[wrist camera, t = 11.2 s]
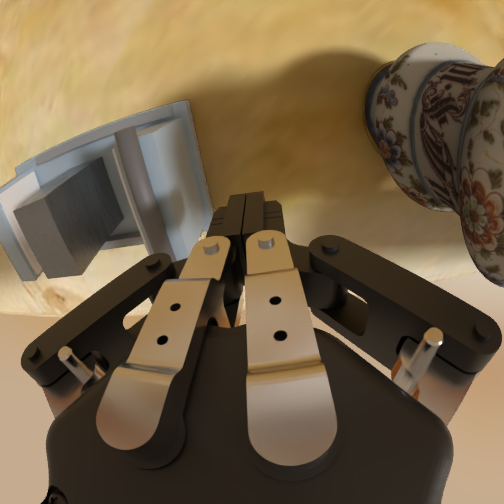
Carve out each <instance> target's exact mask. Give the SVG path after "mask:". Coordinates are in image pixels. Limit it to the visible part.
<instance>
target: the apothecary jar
mask: <svg viewBox="0 0 504 504" xmlns="http://www.w3.org/2000/svg"><path fill="white" fill-rule="evenodd" d="M363 117H364V123H365V127H366V131H367V133H368V136H369V138H370V140H371V142H372V144H373V145H374V147H375V148H376V150H377V151H378V152H379V153H380V154H381V156H382V157H383V160H384V162H385V164H386V167H387V169H388V171H389V172H390V174H391V176H392V178H393V179H394V181H395V182H396V183H397V185H398V186H399V187H400V188H401V189H402V191H403V192H404V193H405V194H406V195H408V196H409V197H410V198H411V199H412V200H414V201H415V202H417V203H418V204H420V205H422V206H424V207H427V208H429V209H433V210H436V211H442V212H456V213H457V214H458V215H459V216H460V219H461V226H462V231H463V235H464V239H465V243H466V246H467V249H468V251H469V254H470V256H471V258H472V260H473V262H474V264H475V265H476V267H477V269H478V270H479V271H480V272H481V273H482V274H483V275H484V277H485V278H487V279H488V280H489V281H490V282H492V283H494V284H496V285H498V286H500V287H504V59H502V60H501V61H500V62H499V63H498V64H497V65H496V67H495V68H494V67H490V66H486V65H485V64H484V63H482V62H481V61H480V60H479V59H478V58H477V57H475V56H474V55H473V54H471V53H470V52H468V51H466V50H464V49H462V48H460V47H457V46H454V45H451V44H446V43H425V44H421V45H418V46H416V47H413V48H411V49H410V50H408V51H406V52H405V53H403V54H402V55H401V56H400V57H399V58H398V59H397V60H396V61H393V62H390V63H388V64H386V65H384V66H383V67H381V68H380V69H379V70H378V71H377V72H376V73H375V74H374V75H373V76H372V78H371V80H370V82H369V84H368V86H367V89H366V91H365V95H364V100H363Z"/></svg>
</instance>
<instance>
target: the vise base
mask: <svg viewBox="0 0 504 504" xmlns="http://www.w3.org/2000/svg"><path fill="white" fill-rule="evenodd" d="M180 117H182V121H183V126H184V130H185V135H186V139H187V144H188V148H189V152H190V157H191V161H192V165H193V169H194V174H195V178H196V182H197V186H198V190H199V194H200V198H201V202H202V206H203V210H204V214H205V218H206V219H205V221H204V224H203V227H202V230H201V233H200V236H199V237H201V235H202V232H203V231H208V229H209V226H210V223H211V221H212V217H213V213H214V211H213V207H212V203H211V198H210V194H209V190H208V185H207V181H206V177H205V172H204V168H203V163H202V159H201V154H200V150H199V145H198V140H197V136H196V131H195V126H194V122H193V117H192V112H191V107H190V102H189V99H188V100H184V101H180V102H176V103H172V104H168V105H164V106H160V107H157V108H153V109H150V110H147V111H143V112H140V113H137V114H134V115H131V116H128V117H125V118H122V119H119V120H116V121H113V122H111V123H108V124H105V125H103V126H100V127H98V128H95V129H93V130H90V131H88V132H85V133H83V134H81V135H78V136H76V137H74V138H71V139H69V140H67V141H65V142H63V143H61V144H58V145H56V146H54V147H52V148H50V149H48V150H46V151H44V152H42V153H40V154H38V155H37V156H35V157H33V158H31V159H29V160H27V161H26V162H24V163H22V164H20V165H19V166H17V167H15V171H16V174H17V176H16V177H14V178H13V179H11V180H10V181H9V182H7V183H6V184H4V185H3V186H1V187H0V242H1V244H2V246H3V248H4V250H5V252H6V254H7V256H8V257H9V259H10V261H11V263H12V264H13V266H14V268H15V270H16V271H17V273H18V275H19V276H20V278H21V280H22V281H33V280H37V278H38V277H39V276H40V274H41V273H42V272H43V269H42V268H41V266H40V264H39V263H38V261H37V259H36V257H35V255H34V254H33V252H32V250H31V248H30V246H29V244H28V242H27V240H26V238H25V236H24V234H23V232H22V230H21V228H20V226H19V224H18V222H17V220H16V218H15V215H14V213H13V210H15V209H16V208H17V207H18V206H19V205H21V204H22V203H23V202H24V201H26V200H27V199H28V198H29V197H31V196H32V195H33V194H35V193H36V192H37V191H39V190H40V189H41V188H43V187H44V186H45V185H47V184H48V183H49V182H51V181H52V180H54V179H55V178H57V177H58V176H59V175H61V174H62V173H64V172H65V171H67V170H68V169H70V168H73V167H75V166H78V165H80V164H83V163H86V162H88V161H91V160H94V159H96V158H99V157H103V161H104V164H105V167H106V170H107V173H108V176H109V178H110V181H111V184H112V187H113V190H114V193H115V195H116V198H117V201H118V203H119V206H120V209H121V211H122V214H123V216H124V219H123V220H122V221H121V223H120V224H119V225H118V226H117V228H116V229H115V230H114V231H113V233H112V234H111V235H110V237H109V238H108V239H107V241H106V242H105V243H104V245H103V246H102V247H101V249H100V250H105V249H112V248H119V247H126V246H133V245H140V244H144V241H143V239H142V236H141V234H140V231H139V229H138V226H137V223H136V221H135V218H134V215H133V213H132V210H131V207H130V204H129V201H128V198H127V196H126V193H125V190H124V187H123V184H122V181H121V178H120V174H119V171H118V168H117V165H116V162H115V158H114V155H113V152H112V149H113V148H114V147H113V144H115V143H116V140H115V136H114V132H117V131H119V130H122V129H124V128H127V127H130V126H134V125H135V128H136V132H137V131H139V130H141V129H143V128H145V127H147V126H149V125H153V124H156V123H160V122H164V121H168V120H171V119H176V118H180Z"/></svg>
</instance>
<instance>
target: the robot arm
mask: <svg viewBox="0 0 504 504" xmlns="http://www.w3.org/2000/svg"><path fill="white" fill-rule="evenodd" d="M244 285H245V300H246V324H244V325H241V326H239V323H240V317H241V312H242V307H243V295H242V292H243V286H244ZM348 289H349V290H350V291H352V292H354V293H355V294H357V295H358V296H360V297H362V298H363V299H364V300H365V301H366V302H367V304H366V303H365V302H363V301H362V300H360V299H358V298H357V297H355V296H354V295H352V294H350V293H349V292H348ZM148 297H149V299H150V301H151V303H152V307H151V309H150V312H149V314H147V315H146V316H145V317H144V318H142V319H141V320H140V321H138V322H137V323H136V324H135V325H133V326H132V327H131V328H129V329H127V330H125V328H124V326H123V319H124V317H125V315H126V314H127V313H129V312H130V311H131V310H133V309H134V308H135V307H136V306H138V305H139V304H140V303H142V302H143V301H144V300H146V299H147V298H148ZM308 307H310V309H311V312H312V313H313V314H314V315H315V316H316V317H317V318H319V319H320V320H322V321H323V322H324V323H325V324H327V325H328V326H330V327H331V328H333V329H334V330H335V331H337V332H338V333H339V334H341V335H342V336H344V337H345V338H346V339H348V340H349V341H350V342H352V343H353V344H355V345H356V346H357V347H359V348H360V349H361V350H363V351H364V352H366V353H367V354H369V355H370V356H371V357H373V358H374V359H376V360H377V361H378V362H380V363H381V364H382V365H384V366H385V367H387V368H388V369H390V370H391V379H392V380H390V379H389V378H388V377H386V376H385V375H384V374H383V373H381V372H380V371H379V370H377V369H376V368H375V367H374V366H372V365H371V364H370V363H368V362H367V361H366V360H365V359H363V358H362V357H361V356H359V355H358V354H357V353H356V352H354V351H353V350H352V349H351V348H349V347H348V346H347V345H345V344H344V343H343V342H342V341H340V340H339V339H338V338H336V337H334V336H333V335H331V334H330V333H327V332H325V331H323V330H320V329H317V328H313V325H312V321H311V318H310V313H309V310H308ZM501 342H502V334H501V330H500V328H499V326H498V325H497V323H496V322H495V321H494V320H493V319H492V318H491V317H489V316H488V315H486V314H485V313H483V312H481V311H480V310H478V309H476V308H475V307H473V306H471V305H469V304H468V303H466V302H464V301H463V300H461V299H459V298H457V297H456V296H454V295H452V294H450V293H449V292H447V291H445V290H443V289H441V288H440V287H438V286H436V285H434V284H432V283H431V282H429V281H427V280H425V279H423V278H421V277H419V276H418V275H416V274H414V273H412V272H410V271H408V270H406V269H404V268H402V267H400V266H399V265H397V264H395V263H393V262H391V261H389V260H387V259H385V258H383V257H381V256H379V255H377V254H375V253H373V252H371V251H369V250H367V249H365V248H363V247H361V246H359V245H357V244H355V243H353V242H351V241H348V240H346V239H344V238H342V237H339V236H334V235H326V236H320V237H318V238H316V239H314V240H313V241H312V242H311V243H310V245H309V247H306V246H299V245H296V244H293V243H291V242H290V241H289V240H288V239H287V238H286V235H285V228H284V220H283V213H282V205H281V204H280V203H279V202H277V201H276V200H275V201H266V202H265V198H264V192H263V191H261V192H253V193H247V194H246V193H245V194H238V195H230V197H229V201H228V205H227V206H226V207H220V208H219V209H218V210H216V211H215V212H214V213H213V217H212V221H211V223H210V226H209V229H208V232H207V235H206V238H205V239H202V240H200V241H199V242H197V243H196V244H195V245H194V247H193V248H192V251H191V253H190V255H189V257H188V258H185V259H182V260H179V261H175V262H172V259H171V256H170V255H168V254H166V253H155V254H152V255H150V256H147V257H146V258H144V259H143V260H141V261H140V262H138V263H137V264H135V265H134V266H132V267H131V268H130V269H128V270H127V271H125V272H124V273H122V274H121V275H120V276H118V277H117V278H115V279H114V280H113V281H111V282H110V283H108V284H107V285H106V286H104V287H103V288H101V289H100V290H99V291H97V292H96V293H95V294H93V295H92V296H91V297H89V298H88V299H86V300H85V301H84V302H82V303H81V304H80V305H78V306H77V307H76V308H75V309H73V310H72V311H71V312H69V313H68V314H67V315H65V316H64V317H63V318H62V319H60V320H59V321H58V322H56V323H55V324H54V325H53V326H51V327H50V328H49V329H48V330H46V331H45V332H44V333H43V334H41V335H40V336H39V337H38V338H36V339H35V340H34V341H33V342H32V343H30V344H29V345H28V347H27V348H26V349H25V351H24V353H23V355H22V358H21V365H22V368H23V369H24V370H25V371H26V372H27V373H28V374H29V375H30V376H31V377H32V378H33V379H34V380H35V381H36V382H37V384H38V385H39V386H40V387H42V388H43V391H44V393H45V396H46V398H47V401H48V403H49V406H50V408H51V410H52V413H53V415H54V417H55V420H54V421H53V423H52V424H51V426H50V428H49V431H48V434H47V439H46V453H47V460H48V468H49V489H48V493H47V496H46V498H45V499H44V501H43V502H42V503H41V504H441V500H442V496H443V491H444V488H445V484H446V481H447V478H448V475H449V472H450V469H451V465H452V462H453V443H452V437H451V435H450V432H449V430H448V428H447V425H448V424H449V422H450V421H451V419H452V417H453V416H454V414H455V412H456V411H457V409H458V407H459V406H460V404H461V402H462V400H463V399H464V397H465V395H466V393H467V391H468V389H469V387H470V386H471V384H472V381H473V380H474V379H475V378H476V377H477V376H478V374H479V373H480V372H481V371H482V370H483V368H484V367H485V366H486V365H487V363H488V362H489V361H490V360H491V358H492V357H493V356H494V354H495V353H496V352H497V350H498V349H499V347H500V345H501Z"/></svg>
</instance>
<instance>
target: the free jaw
mask: <svg viewBox="0 0 504 504" xmlns="http://www.w3.org/2000/svg"><path fill="white" fill-rule="evenodd" d="M114 136H115V140H116V143H115V144H113V147H114V148H113V149H112V152H113V155H114V158H115V162H116V165H117V168H118V171H119V174H120V178H121V181H122V184H123V187H124V190H125V193H126V196H127V198H128V201H129V204H130V207H131V210H132V213H133V215H134V218H135V221H136V223H137V226H138V229H139V231H140V234H141V236H142V239H143V241H144V244H145V246H146V249H147V251H148V254H149V256H150V255H152V254H155V253H166V254H168V255H170V256H171V259H172V262H175V261H179V260H182V259H185V258H188V257H189V255H190V253H191V251H192V248H193V247H194V245H195V244H196V243H197V242H198V239H199V236H200V233H201V230H202V227H203V224H204V221H205V219H206V218H205V214H204V210H203V206H202V202H201V198H200V194H199V190H198V186H197V182H196V178H195V174H194V169H193V165H192V161H191V157H190V152H189V148H188V144H187V139H186V135H185V130H184V126H183V121H182V117H180V118H176V119H171V120H168V121H164V122H160V123H156V124H153V125H149V126H147V127H145V128H143V129H141V130H139V131H137V132H136V128H135V125H134V126H130V127H127V128H124V129H122V130H119V131H117V132H114Z"/></svg>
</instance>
